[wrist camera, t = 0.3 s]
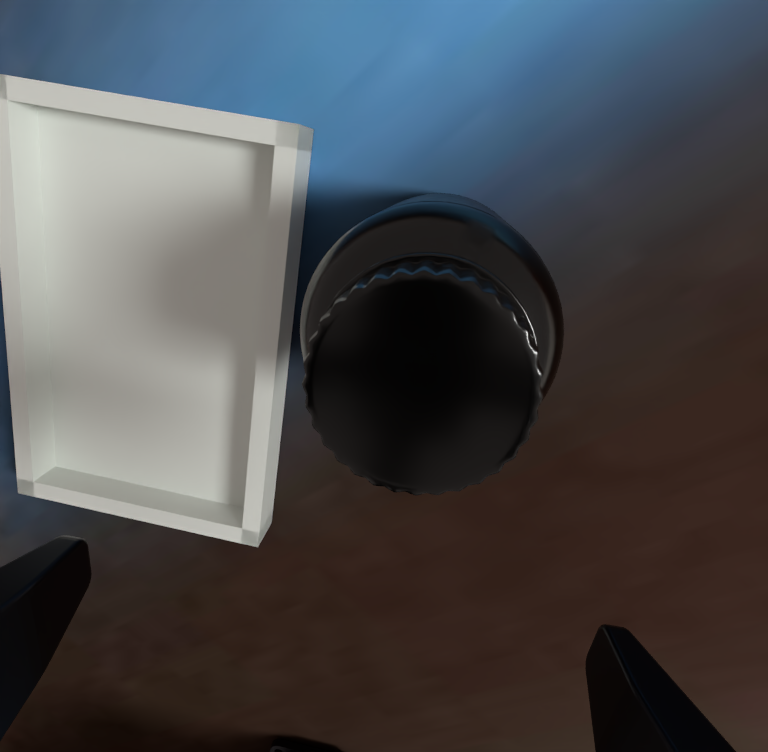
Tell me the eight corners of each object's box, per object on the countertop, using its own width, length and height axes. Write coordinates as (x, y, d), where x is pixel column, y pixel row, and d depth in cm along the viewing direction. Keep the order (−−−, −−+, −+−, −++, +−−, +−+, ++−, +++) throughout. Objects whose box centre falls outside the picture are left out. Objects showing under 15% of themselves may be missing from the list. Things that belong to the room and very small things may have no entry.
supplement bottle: (350, 357, 24) (246, 516, 12) (357, 186, 21) (239, 191, 10) (514, 373, 23) (564, 559, 12) (541, 199, 21) (635, 220, 9)
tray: (271, 523, 27) (258, 547, 25) (46, 472, 28) (18, 493, 26) (313, 129, 21) (299, 124, 19) (24, 80, 22) (-16, 71, 20)
